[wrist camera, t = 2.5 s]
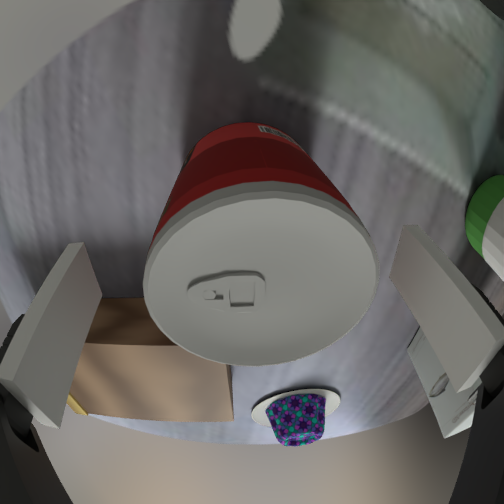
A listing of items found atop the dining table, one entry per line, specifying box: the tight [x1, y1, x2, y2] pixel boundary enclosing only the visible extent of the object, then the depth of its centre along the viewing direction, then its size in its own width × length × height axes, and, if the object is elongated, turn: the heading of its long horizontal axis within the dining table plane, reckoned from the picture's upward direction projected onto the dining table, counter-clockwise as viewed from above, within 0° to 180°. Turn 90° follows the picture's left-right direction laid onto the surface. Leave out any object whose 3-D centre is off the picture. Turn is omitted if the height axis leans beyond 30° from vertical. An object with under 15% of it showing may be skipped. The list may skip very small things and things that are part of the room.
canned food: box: [143, 122, 379, 366], centre depth 14 cm, size 8×8×11 cm
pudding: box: [251, 389, 340, 446], centre depth 35 cm, size 12×12×5 cm
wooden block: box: [66, 298, 234, 422], centre depth 25 cm, size 18×13×5 cm
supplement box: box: [407, 327, 482, 438], centre depth 24 cm, size 7×7×13 cm
